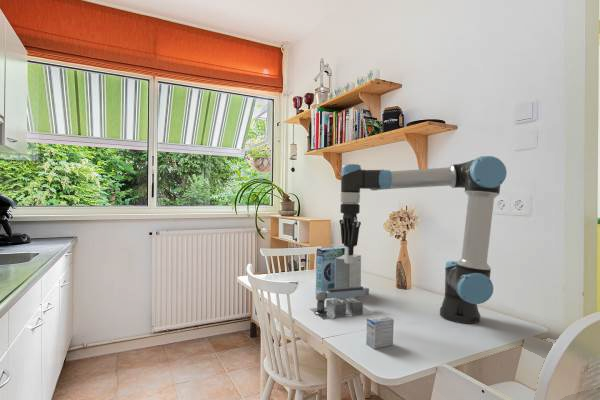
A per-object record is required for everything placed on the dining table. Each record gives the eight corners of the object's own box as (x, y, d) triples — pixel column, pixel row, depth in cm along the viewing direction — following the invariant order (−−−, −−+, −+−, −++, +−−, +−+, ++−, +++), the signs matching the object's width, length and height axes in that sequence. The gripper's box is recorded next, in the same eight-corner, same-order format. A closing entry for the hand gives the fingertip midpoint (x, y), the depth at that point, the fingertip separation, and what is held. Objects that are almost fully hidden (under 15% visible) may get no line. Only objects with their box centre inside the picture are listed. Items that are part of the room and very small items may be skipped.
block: (362, 312, 147) (362, 302, 147) (352, 313, 145) (352, 303, 145) (352, 306, 154) (353, 297, 154) (342, 307, 152) (343, 298, 152)
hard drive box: (346, 292, 180) (347, 253, 180) (361, 294, 176) (362, 255, 176) (333, 299, 167) (334, 257, 167) (348, 302, 163) (349, 259, 163)
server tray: (375, 315, 146) (376, 300, 146) (322, 321, 136) (322, 305, 136) (358, 305, 159) (358, 291, 159) (307, 310, 149) (308, 296, 149)
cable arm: (318, 300, 141) (318, 291, 141) (314, 298, 145) (314, 289, 145) (370, 296, 150) (370, 287, 150) (365, 293, 154) (365, 285, 154)
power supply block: (345, 314, 144) (346, 303, 144) (334, 315, 142) (335, 304, 142) (336, 308, 151) (336, 298, 151) (326, 309, 149) (326, 299, 149)
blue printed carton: (343, 288, 187) (344, 245, 187) (350, 291, 183) (351, 247, 183) (315, 293, 176) (316, 248, 176) (321, 296, 172) (322, 249, 172)
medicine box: (384, 340, 119) (384, 315, 119) (393, 345, 115) (394, 319, 115) (365, 344, 116) (366, 318, 116) (374, 349, 112) (375, 322, 112)
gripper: (367, 204, 134) (366, 265, 134) (349, 203, 147) (348, 259, 147) (350, 203, 132) (349, 266, 132) (333, 202, 144) (332, 260, 144)
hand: (348, 262), depth 139 cm, fingers closed
